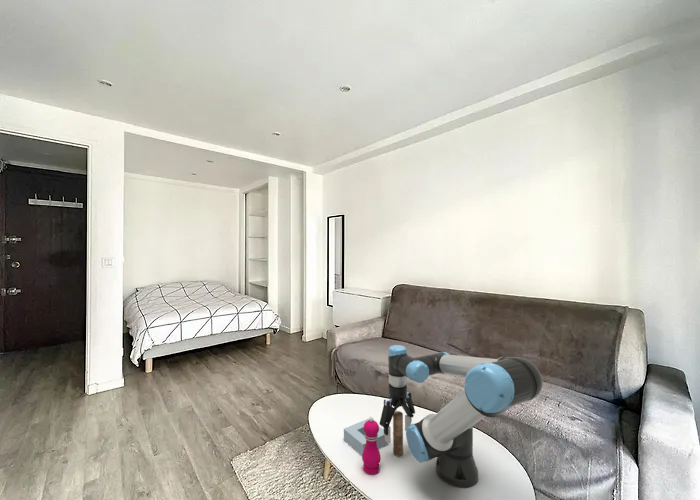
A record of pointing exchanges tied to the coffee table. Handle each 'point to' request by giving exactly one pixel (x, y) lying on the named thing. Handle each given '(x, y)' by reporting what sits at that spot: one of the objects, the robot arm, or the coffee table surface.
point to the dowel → (398, 433)
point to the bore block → (361, 437)
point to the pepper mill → (371, 448)
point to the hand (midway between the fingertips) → (398, 436)
